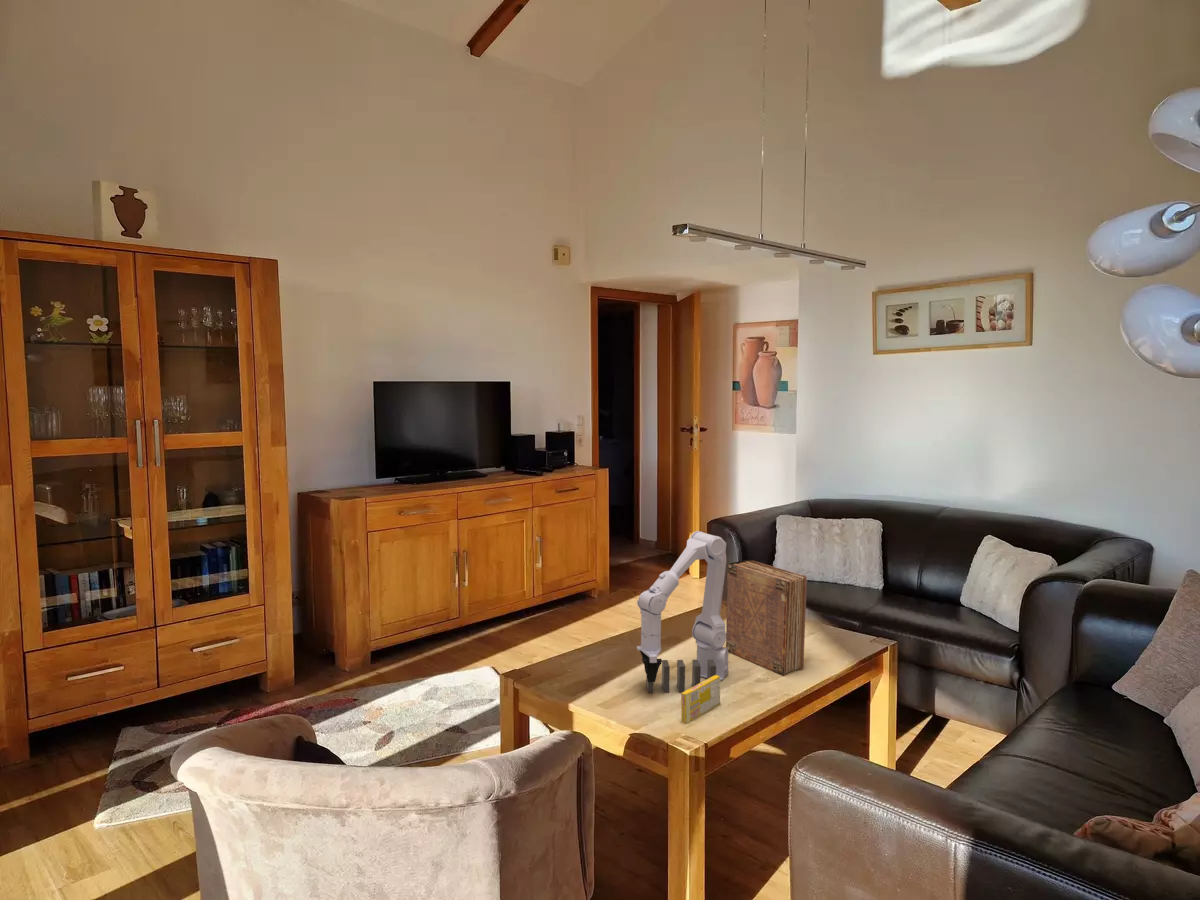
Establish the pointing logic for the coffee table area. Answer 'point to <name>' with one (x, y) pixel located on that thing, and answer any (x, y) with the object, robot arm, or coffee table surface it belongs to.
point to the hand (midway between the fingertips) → (650, 677)
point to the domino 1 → (650, 686)
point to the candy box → (700, 699)
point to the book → (766, 615)
